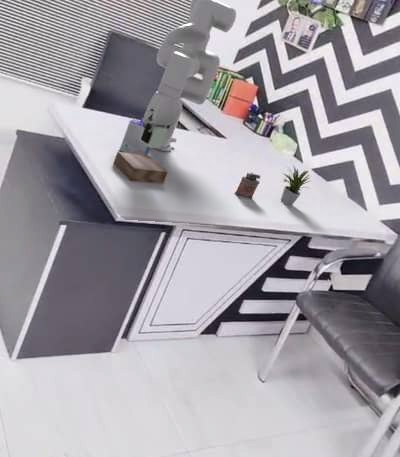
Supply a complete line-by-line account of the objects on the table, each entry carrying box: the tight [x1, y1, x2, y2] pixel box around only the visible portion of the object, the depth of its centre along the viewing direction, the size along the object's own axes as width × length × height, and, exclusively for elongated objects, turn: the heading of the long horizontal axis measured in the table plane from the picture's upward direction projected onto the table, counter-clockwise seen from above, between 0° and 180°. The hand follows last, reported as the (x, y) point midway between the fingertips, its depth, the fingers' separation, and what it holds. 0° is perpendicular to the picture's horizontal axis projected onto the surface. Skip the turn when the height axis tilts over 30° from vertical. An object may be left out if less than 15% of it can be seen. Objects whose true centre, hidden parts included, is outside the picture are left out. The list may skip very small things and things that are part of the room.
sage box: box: [139, 123, 168, 149], centre depth 176 cm, size 6×6×7 cm
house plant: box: [280, 165, 312, 207], centre depth 217 cm, size 14×14×16 cm
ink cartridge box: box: [119, 116, 151, 156], centre depth 194 cm, size 10×6×14 cm, turn 78°
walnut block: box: [113, 151, 169, 185], centre depth 181 cm, size 14×12×5 cm
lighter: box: [234, 172, 261, 200], centre depth 203 cm, size 8×3×10 cm, turn 117°
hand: (150, 141), depth 177 cm, fingers closed on sage box, 5 cm apart
